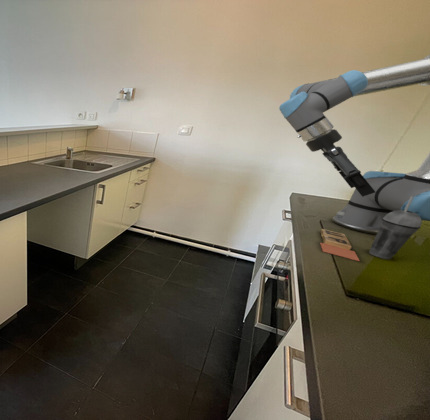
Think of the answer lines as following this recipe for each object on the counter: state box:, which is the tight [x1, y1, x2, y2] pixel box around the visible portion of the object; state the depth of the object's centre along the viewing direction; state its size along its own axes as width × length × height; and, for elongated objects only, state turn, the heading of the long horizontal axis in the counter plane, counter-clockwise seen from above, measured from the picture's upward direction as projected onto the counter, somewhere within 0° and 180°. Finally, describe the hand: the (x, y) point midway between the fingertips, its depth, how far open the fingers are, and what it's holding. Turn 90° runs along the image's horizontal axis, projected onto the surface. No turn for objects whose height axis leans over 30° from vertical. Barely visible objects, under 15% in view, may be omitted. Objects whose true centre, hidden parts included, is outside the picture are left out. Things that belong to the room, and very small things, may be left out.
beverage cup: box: [368, 197, 423, 260], centre depth 75 cm, size 7×7×20 cm
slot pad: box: [319, 242, 360, 262], centre depth 80 cm, size 8×8×1 cm
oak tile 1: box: [319, 228, 349, 241], centre depth 89 cm, size 6×6×2 cm
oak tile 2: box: [321, 235, 352, 250], centre depth 84 cm, size 6×6×2 cm
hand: (362, 189), depth 78 cm, fingers open, 13 cm apart
